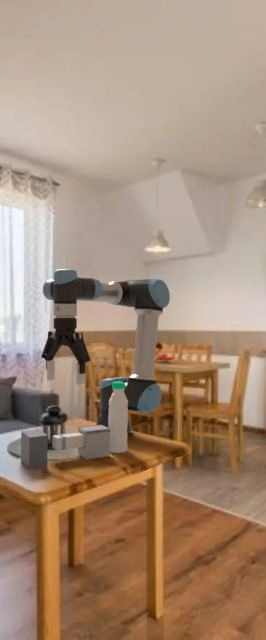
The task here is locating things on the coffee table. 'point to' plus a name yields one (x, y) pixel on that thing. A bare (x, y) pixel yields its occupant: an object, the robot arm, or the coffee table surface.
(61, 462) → the coffee table surface
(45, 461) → the socket fitting
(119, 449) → the water bottle
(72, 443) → the tube
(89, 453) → the sleeve
